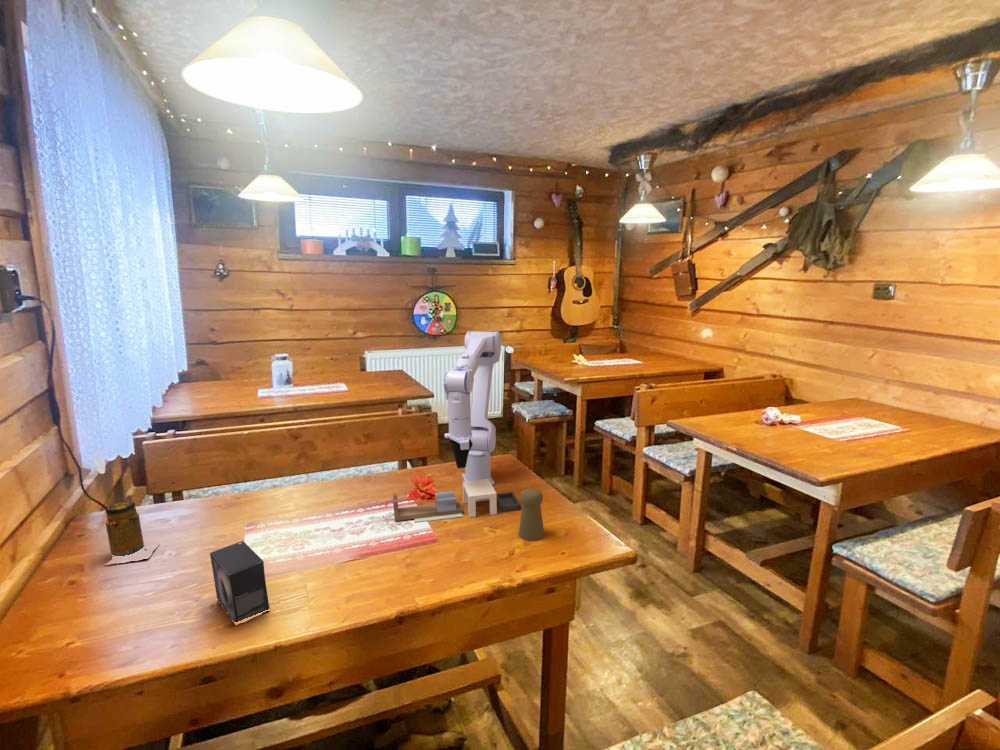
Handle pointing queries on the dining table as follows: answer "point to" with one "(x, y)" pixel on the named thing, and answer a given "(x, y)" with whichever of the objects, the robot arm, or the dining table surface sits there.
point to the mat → (438, 517)
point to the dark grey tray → (508, 502)
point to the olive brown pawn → (531, 515)
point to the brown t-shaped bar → (429, 507)
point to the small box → (239, 581)
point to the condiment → (123, 528)
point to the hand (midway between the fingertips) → (461, 467)
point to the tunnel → (479, 495)
